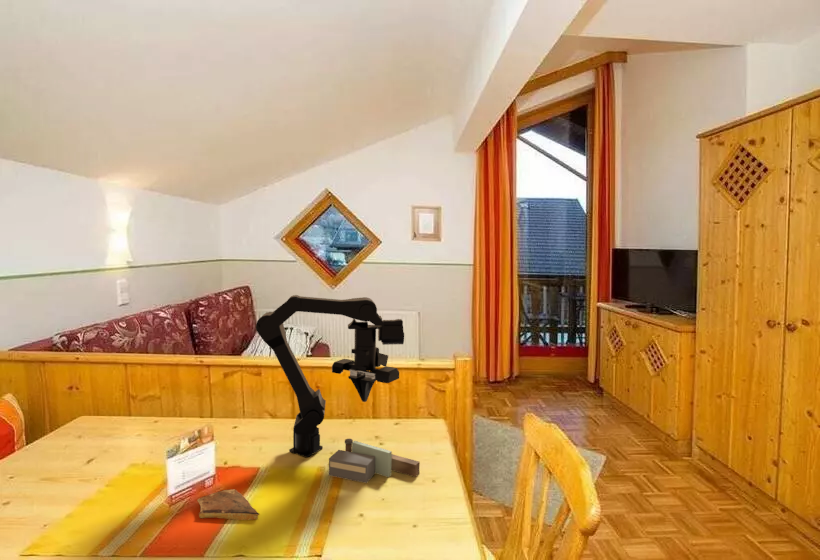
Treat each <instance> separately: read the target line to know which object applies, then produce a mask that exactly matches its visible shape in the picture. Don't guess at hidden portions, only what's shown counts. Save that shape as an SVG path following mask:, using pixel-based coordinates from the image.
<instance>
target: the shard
mask: <svg viewBox="0 0 820 560" xmlns="http://www.w3.org/2000/svg"><path fill="white" fill-rule="evenodd" d="M197 502H198V504H199V505H200V512H198V517H199V519H211V518H216V519H225V520H226V519H227V520H236V521H237V520H241V521H248V520H249V521H251V520H252V521H253V520H259V515H260V513H259V512H258V511H257V510H256V509H255V508H254V507H253V506H252V505H251V504H250V502H249V500H247V498H246V497H245V496H243V494H242V493H241V492H239V491H238V490H237V489H234V488H233V489H224V490H219V491H217V492H214V493H210V494H207V495H204V496H201V497H199V498H198V499H197Z"/></svg>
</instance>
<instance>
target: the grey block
mask: <svg viewBox="0 0 820 560" xmlns="http://www.w3.org/2000/svg"><path fill="white" fill-rule="evenodd" d="M375 474H376V473H375V456H371V455H365V454H360V453H354V452H348V451H345V450H344V449H343V450H341V449H338V450H337V451H335V452H334V453H333V454H331V456H330V457H329V458H328V476H330V477H334V478H335V477H336V478H340V479H344V480H351V481H354V482H359V483H364V484H368V482H369V481H370V480H371V479H372V478H373V477H374V475H375Z"/></svg>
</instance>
